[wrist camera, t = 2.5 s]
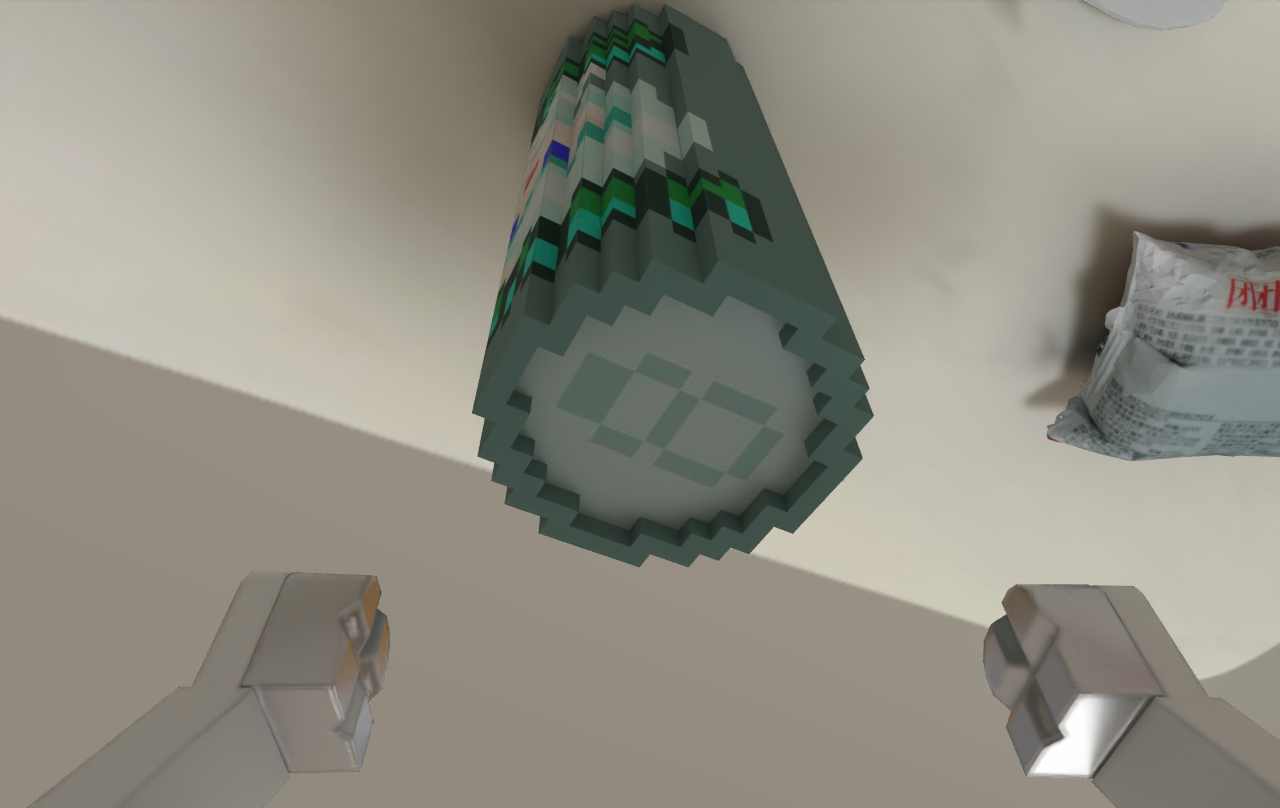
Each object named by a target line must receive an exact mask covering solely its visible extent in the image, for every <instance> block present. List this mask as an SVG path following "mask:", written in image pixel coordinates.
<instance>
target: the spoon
mask: <svg viewBox="0 0 1280 808" xmlns="http://www.w3.org/2000/svg"><path fill="white" fill-rule="evenodd" d="M1084 1H1086V2H1088V3H1089V4H1091V5H1093V6H1094V7H1096V8H1098V9H1099V10H1101V11H1102V12H1104V13H1106V14H1107V15H1109V16H1111V17H1114V18H1116V19H1119V20H1121V21H1124V22H1126V23H1128V24H1131V25H1133V26H1136V27H1142V28H1148V29H1154V30H1169V29H1176V28H1184V27H1187V26H1191V25H1194V24H1197V23H1200V22H1203V21H1206V20H1208V19H1210V18H1212V17H1214V16H1215V15H1216V14H1217V13H1218V12H1220V10H1221V9H1222V7H1223V5H1224V4H1225V2H1226V0H1084Z"/></svg>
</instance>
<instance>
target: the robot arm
mask: <svg viewBox="0 0 1280 808" xmlns="http://www.w3.org/2000/svg"><path fill="white" fill-rule="evenodd" d="M380 596H381V590H380V587H379V583H378V579H377V576H372V575H350V574H323V573H300V572H265V571H263V572H262V571H251V572H250V573H249V574H248V575H247V577H246V578H245V579H244V580H243V581H242V582H241V583H240V585H239V587H238V590H237V592H236V594H235V596H234V598H233V600H232V602H231V604H230V606H229V609H228V611H227V613H226V615H225V617H224V619H223V621H222V624H221V625H220V628H219V630H218V632H217V634H216V636H215V638H214V640H213V643H212V645H211V647H210V649H209V651H208V653H207V655H206V657H205V659H204V661H203V664H202V666H201V668H200V670H199V672H198V674H197V676H196V678H195V680H194V683H193V685H192V687H178V688H177V689H176V690H174V691H173V692H172V693H171V694H169V695H168V696H167V697H165V698H164V699H163V700H162V701H160V702H159V703H158V704H157V705H155V706H154V707H153V708H152V709H150V710H149V711H148V712H147V713H145V714H144V715H143V716H142V717H141V718H139V719H138V720H137V721H135V722H134V723H133V724H132V725H130V726H129V727H128V728H126V729H125V730H124V731H123V732H122V733H120V734H119V735H118V736H116V737H115V738H114V739H113V740H111V741H110V742H109V743H107V744H106V745H105V746H104V747H103V748H101V749H100V750H99V751H98V752H96V753H95V754H94V755H92V756H91V757H90V758H89V759H87V760H86V761H85V762H84V763H82V764H81V765H80V766H78V767H77V768H76V769H75V770H73V771H72V772H71V773H70V774H69V775H67V776H66V777H65V778H63V779H62V780H61V781H60V782H59V783H57V784H56V785H55V786H54V787H52V788H51V789H49V791H47V792H46V793H45V794H43V795H42V796H41V797H39V798H38V799H37V800H36V801H34V802H33V803H32V804H31V805H29V806H28V807H27V808H264V807H265V806H266V805H267V803H268V802H269V801H270V800H271V799H272V798H273V797H274V795H275V794H276V793H277V792H278V791H279V790H280V789H281V788H282V786H283V785H284V784H285V783H286V782H287V781H288V780H289V778H290V775H289V773H324V772H325V773H328V772H360V771H361V768H362V764H363V760H364V757H365V753H366V749H367V746H368V742H369V738H370V734H371V730H372V726H373V723H374V720H373V716H372V712H371V708H370V705H369V701H370V700H371V699H372V698H373V697H374V696H375V695H377V694H378V693H379V692H380V691H381V690H382V688H383V684H384V680H385V676H386V672H387V668H388V658H389V649H390V635H389V625H388V620H387V616H386V615H385V614H384V613H382V612H381V611H380V610H378V609H377V607H378V603H379V600H380ZM1002 605H1003V607H1004V609H1005V611H1006V615H1005V616H1003V617H1002V618H1000V619H998V620H997V621H995V622H994V623H992V624H991V625H990V628H989V630H988V632H987V635H986V637H985V640H984V652H983V662H984V667H985V672H986V677H987V680H988V683H989V685H990V688H991V691H992V693H993V695H994V696H995V697H996V698H997V699H998V700H999V701H1000V702H1001V703H1003V704H1004V705H1005V706H1006V707H1007V708H1008V709H1009V710H1010V711H1011V714H1010V717H1009V720H1008V723H1007V726H1006V728H1007V731H1008V733H1009V736H1010V738H1011V741H1012V743H1013V745H1014V748H1015V750H1016V753H1017V755H1018V758H1019V760H1020V763H1021V765H1022V768H1023V770H1024V773H1025V775H1026V776H1034V777H1065V778H1093V780H1092V783H1093V784H1094V785H1095V786H1096V787H1097V788H1098V789H1099V790H1100V791H1101V792H1102V793H1103V794H1104V795H1105V796H1106V798H1107V799H1108V800H1109V801H1110V802H1112V804H1113V805H1114V806H1115V807H1116V808H1280V740H1279V739H1277V738H1276V737H1275V736H1273V735H1272V734H1270V733H1269V732H1268V731H1266V730H1265V729H1264V728H1262V727H1260V726H1259V725H1258V724H1257V723H1255V722H1254V721H1252V720H1251V719H1250V718H1248V717H1247V716H1245V715H1244V714H1243V713H1241V712H1240V711H1239V710H1237V709H1236V708H1235V707H1233V706H1232V705H1230V704H1229V703H1227V702H1226V701H1225V700H1223V699H1222V698H1213V697H1209V696H1208V694H1207V693H1206V691H1205V690H1204V688H1203V687H1202V685H1201V684H1200V682H1199V680H1198V679H1197V677H1196V676H1195V674H1194V672H1193V671H1192V669H1191V668H1190V666H1189V665H1188V663H1187V662H1186V660H1185V658H1184V657H1183V655H1182V654H1181V652H1180V651H1179V649H1178V647H1177V646H1176V644H1175V643H1174V641H1173V640H1172V638H1171V636H1170V635H1169V633H1168V632H1167V630H1166V629H1165V627H1164V626H1163V624H1162V622H1161V621H1160V619H1159V618H1158V616H1157V615H1156V613H1155V611H1154V610H1153V608H1152V607H1151V605H1150V604H1149V602H1148V600H1147V599H1146V597H1145V596H1144V595H1143V593H1142V592H1140V591H1139V590H1138V589H1136V588H1135V587H1134V586H1100V585H1094V586H1090V585H1074V584H1016V585H1015V586H1013V587H1012V588H1010V589H1009V590H1008V591H1007V593H1006V595H1005V597H1004V599H1003V601H1002Z"/></svg>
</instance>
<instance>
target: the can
mask: <svg viewBox="0 0 1280 808" xmlns="http://www.w3.org/2000/svg"><path fill="white" fill-rule="evenodd" d="M864 360H865V359H864V356H863V354H862V352H861V349H860V347H859V344H858V342H857V340H856V337H855V335H854V332H853V330H852V327H851V325H850V323H849V320H848V318H847V315H846V313H845V311H844V308H843V306H842V303H841V301H840V299H839V296H838V294H837V291H836V289H835V287H834V284H833V282H832V279H831V277H830V275H829V272H828V270H827V267H826V265H825V263H824V260H823V258H822V255H821V253H820V251H819V248H818V246H817V243H816V241H815V239H814V236H813V234H812V231H811V229H810V227H809V224H808V222H807V219H806V217H805V215H804V212H803V210H802V207H801V205H800V203H799V200H798V198H797V195H796V193H795V191H794V188H793V186H792V183H791V181H790V179H789V176H788V174H787V171H786V169H785V167H784V164H783V162H782V159H781V157H780V155H779V152H778V150H777V147H776V145H775V143H774V140H773V138H772V135H771V133H770V130H769V128H768V126H767V123H766V121H765V118H764V116H763V114H762V111H761V109H760V106H759V104H758V102H757V99H756V97H755V94H754V92H753V90H752V87H751V85H750V82H749V80H748V78H747V75H746V73H745V70H744V68H743V66H741V65H739V64H738V63H736V62H735V59H734V57H733V54H732V52H731V49H730V47H729V44H728V42H727V40H726V39H724V38H723V37H721V36H719V35H718V34H716V33H714V32H712V31H711V30H709V29H707V28H706V27H704V26H702V25H700V24H699V23H697V22H695V21H694V20H692V19H690V18H688V17H687V16H685V15H683V14H682V13H680V12H678V11H676V10H675V9H673V8H671V7H670V6H668V5H666V4H665V6H664V8H663V10H662V12H661V14H660V16H659V18H658V17H656V16H654V15H653V14H651V13H649V12H647V11H646V10H644V9H642V8H640V7H639V6H637V5H635V4H634V3H633V5H632V7H631V9H630V11H629V13H628V15H627V17H625V16H624V15H622V14H620V13H618V12H617V11H615V10H614V11H613V13H612V15H611V17H610V19H609V21H608V23H606V22H604V21H602V20H600V19H598V18H597V17H595V16H594V19H593V21H592V23H591V25H590V27H589V29H588V31H587V34H586V36H585V38H584V40H583V42H582V43H581V42H579V41H577V40H575V39H574V38H572V37H570V36H569V38H568V40H567V42H566V45H565V47H564V49H563V51H562V53H561V56H560V58H559V60H558V62H557V64H556V67H555V69H554V71H553V73H552V76H551V78H550V80H549V82H548V84H547V87H546V89H545V91H544V93H543V95H542V98H541V100H540V104H539V109H538V114H537V118H536V123H535V127H534V132H533V136H532V141H531V146H530V150H529V155H528V159H527V164H526V168H525V173H524V178H523V182H522V187H521V191H520V196H519V200H518V205H517V210H516V214H515V219H514V223H513V228H512V232H511V237H510V242H509V246H508V251H507V255H506V260H505V264H504V269H503V274H502V278H501V283H500V287H499V292H498V296H497V301H496V306H495V310H494V315H493V319H492V324H491V328H490V333H489V337H488V342H487V347H486V351H485V356H484V360H483V365H482V369H481V374H480V379H479V383H478V388H477V392H476V397H475V401H474V406H473V411H472V413H473V414H475V415H478V416H481V417H483V418H485V421H484V426H483V431H482V436H481V441H480V446H479V451H478V456H477V457H480V458H483V459H486V460H488V461H491V462H494V469H493V475H492V481H493V482H496V483H499V484H502V485H505V486H507V492H506V499H505V504H506V505H509V506H512V507H515V508H518V509H521V510H523V511H526V512H529V513H532V514H535V515H538V516H540V524H539V534H543V535H545V536H548V537H551V538H554V539H557V540H560V541H563V542H566V543H569V544H572V545H575V546H578V547H581V548H584V549H587V550H590V551H593V552H596V553H599V554H602V555H605V556H608V557H611V558H614V559H616V560H619V561H623V562H625V563H628V564H631V565H634V566H637V567H640V566H641V565H642V563H643V562H644V561H645V560H646V558H647V557H648V556H649V555H650V554H651V555H655V556H657V557H660V558H663V559H666V560H669V561H672V562H675V563H678V564H680V565H683V566H686V567H689V566H690V565H691V564H692V563H693V561H694V560H695V559H696V558H697V557H698V556H699V554H701V555H704V556H707V557H710V558H712V559H715V560H718V561H719V560H720V559H721V558H722V556H723V555H724V554H725V553H726V552H727V551H728V550H729V548H730V547H731V548H734V549H736V550H739V551H742V552H745V553H747V554H750V553H751V552H752V550H753V549H754V548H755V547H756V546H757V545H758V544H759V543H760V542H761V540H762V539H763V538H764V537H765V536H766V535H767V534H768V533H769V532H770V531H771V529H772V528H773V527H776V528H779V529H782V530H784V531H787V532H790V533H792V534H793V533H794V532H795V531H796V530H797V529H798V528H799V527H800V525H801V524H802V523H803V522H804V521H805V520H806V519H807V518H808V517H809V516H810V515H811V514H812V513H813V511H814V510H815V509H816V508H817V507H818V506H819V505H820V504H821V503H822V502H823V501H824V500H825V499H826V497H827V496H828V495H829V494H830V493H831V492H832V491H833V490H834V489H835V488H836V487H837V486H838V485H839V483H840V482H841V481H842V480H843V479H844V478H845V477H846V476H847V475H848V474H849V473H850V472H851V471H852V469H853V468H854V467H855V466H856V465H857V464H858V463H859V462H860V461H861V460H862V459H863V458H862V455H861V452H860V449H859V446H858V444H857V441H856V438H855V436H856V435H857V434H858V433H859V432H860V431H861V430H862V429H863V427H864V426H865V425H866V424H867V423H868V422H869V421H870V420H871V419H872V417H873V416H874V415H873V412H872V410H871V407H870V405H869V402H868V400H867V397H866V395H865V393H866V392H867V391H868V390H869V389H870V388H869V386H868V384H867V381H866V379H865V376H864V374H863V371H862V369H861V366H860V365H861V364H862V362H863V361H864Z"/></svg>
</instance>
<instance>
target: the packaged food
mask: <svg viewBox="0 0 1280 808" xmlns="http://www.w3.org/2000/svg"><path fill="white" fill-rule="evenodd" d="M1105 326H1106V328H1107V329H1109V331H1108V333H1107V335H1106V337H1105V339H1104V343H1101V342H1100V345H1099V346H1098V348H1097V354H1096V356H1095V361H1094V365H1093V369H1092V373H1091V376H1090V378H1089V379H1088V380H1085V381H1082V384H1081V386H1080V392H1079V395H1078V396H1076V397H1074V398H1071V399H1069V401H1068V405H1067V408H1066V410H1064V411H1063V412H1061V413H1060V414H1059V415H1058V416H1057V417H1056V420H1055V424H1051V425H1048V426H1047V428H1048V432H1047V437H1048V439H1050V440H1053V441H1056V442H1061V443H1066V444H1070V445H1073V446H1076V447H1079V448H1082V449H1085V450H1088V451H1092V452H1096V453H1099V454H1103V455H1107V456H1111V457H1116V458H1120V459H1124V460H1128V461H1139V460H1152V459H1165V458H1178V457H1191V456H1208V455H1223V456H1239V455H1243V456H1269V457H1280V247H1272V248H1267V249H1263V250H1254V251H1249V250H1247V249H1244V248H1240V247H1236V246H1224V245H1212V244H1200V243H1186V242H1166V241H1163V240H1161V239H1159V240H1156V239H1154V238H1152V237H1150V236H1148V235H1146V234H1143V233H1140V232H1137V231H1134V233H1133V252H1132V259H1131V265H1130V266H1129V269H1128V273H1127V280H1126V286H1125V291H1124V295H1123V298H1122V301H1121V304H1120V306H1119V307H1118V308H1115V309H1112V310H1110V311H1109V312H1108V313H1107V314H1106V321H1105ZM1060 416H1063V417H1062V418H1061V419H1060Z"/></svg>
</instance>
